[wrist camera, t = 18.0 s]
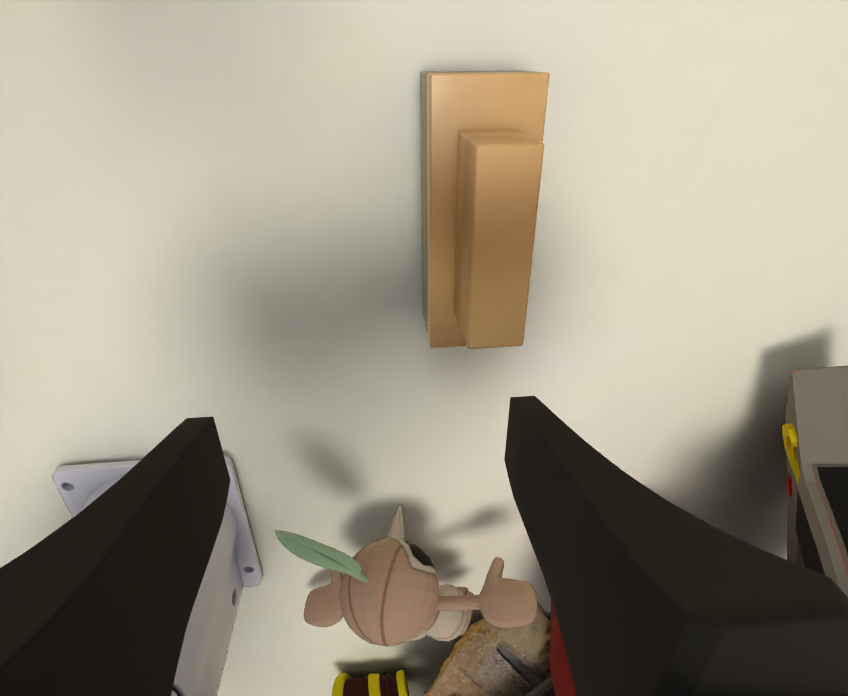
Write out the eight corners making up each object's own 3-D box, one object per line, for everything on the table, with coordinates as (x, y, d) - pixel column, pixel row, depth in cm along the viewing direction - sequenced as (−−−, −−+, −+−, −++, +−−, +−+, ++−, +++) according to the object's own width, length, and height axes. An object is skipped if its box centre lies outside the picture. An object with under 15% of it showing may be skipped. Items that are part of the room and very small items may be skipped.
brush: (503, 309, 22) (544, 384, 17) (422, 313, 21) (439, 391, 16) (522, 70, 17) (587, 75, 12) (420, 71, 17) (443, 76, 12)
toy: (554, 536, 28) (446, 399, 18) (564, 672, 24) (432, 593, 14) (359, 549, 34) (191, 448, 24) (340, 664, 30) (127, 601, 19)
